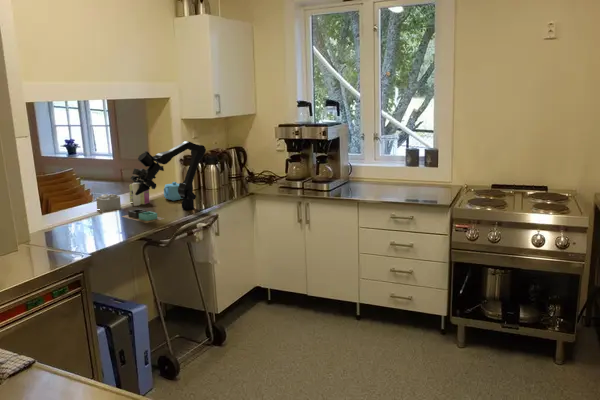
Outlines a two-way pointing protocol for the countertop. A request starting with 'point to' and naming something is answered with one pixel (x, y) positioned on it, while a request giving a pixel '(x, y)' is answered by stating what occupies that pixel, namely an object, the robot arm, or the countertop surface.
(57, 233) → the countertop surface
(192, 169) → the robot arm
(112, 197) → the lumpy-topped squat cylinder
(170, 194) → the teapot
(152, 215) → the port
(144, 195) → the box
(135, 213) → the panel board
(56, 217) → the countertop surface
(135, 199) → the plug
